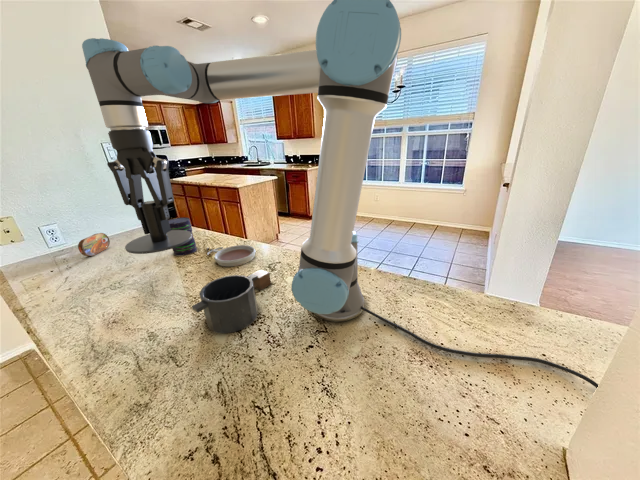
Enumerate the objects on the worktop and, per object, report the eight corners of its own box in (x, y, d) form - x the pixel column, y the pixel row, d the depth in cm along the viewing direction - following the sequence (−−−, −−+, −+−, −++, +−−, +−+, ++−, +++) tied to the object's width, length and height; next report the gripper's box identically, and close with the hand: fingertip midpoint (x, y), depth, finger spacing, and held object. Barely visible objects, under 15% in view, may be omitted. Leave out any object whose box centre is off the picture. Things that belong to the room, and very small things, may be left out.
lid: (204, 240, 67) (195, 198, 63) (141, 261, 56) (126, 213, 53) (176, 230, 76) (166, 193, 72) (117, 248, 65) (102, 205, 61)
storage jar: (182, 247, 127) (174, 217, 121) (201, 247, 125) (194, 217, 120) (168, 255, 117) (159, 224, 112) (188, 256, 116) (180, 223, 111)
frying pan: (220, 239, 127) (263, 247, 113) (222, 245, 128) (264, 254, 114) (188, 252, 114) (232, 263, 99) (190, 258, 115) (234, 270, 100)
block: (271, 284, 90) (269, 272, 88) (261, 290, 86) (259, 278, 85) (262, 280, 92) (260, 269, 91) (252, 286, 89) (250, 274, 87)
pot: (274, 307, 77) (270, 278, 74) (217, 347, 63) (209, 314, 60) (244, 293, 85) (239, 267, 81) (188, 326, 71) (179, 296, 67)
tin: (87, 258, 119) (80, 241, 116) (80, 259, 119) (73, 241, 116) (112, 246, 133) (106, 230, 130) (106, 246, 134) (100, 230, 130)
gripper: (175, 128, 59) (197, 227, 67) (108, 131, 61) (138, 227, 69) (151, 127, 52) (180, 237, 60) (77, 131, 54) (115, 237, 62)
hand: (157, 232), depth 65 cm, fingers closed on lid, 4 cm apart
